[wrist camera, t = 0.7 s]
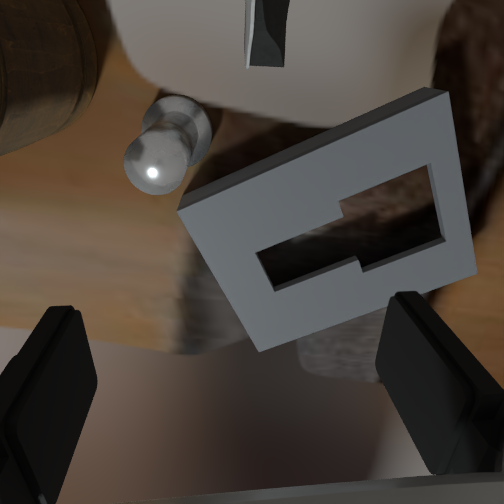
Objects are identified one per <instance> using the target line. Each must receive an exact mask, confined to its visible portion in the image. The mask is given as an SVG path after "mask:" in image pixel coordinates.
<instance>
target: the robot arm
mask: <svg viewBox="0 0 504 504" xmlns="http://www.w3.org/2000/svg"><path fill="white" fill-rule="evenodd" d="M375 365H376V370H377V373H378V375H379V376H380V378H381V380H382V382H383V384H384V386H385V388H386V390H387V392H388V394H389V396H390V398H391V399H392V401H393V403H394V405H395V407H396V409H397V411H398V413H399V415H400V417H401V419H402V420H403V423H404V424H405V426H406V428H407V430H408V432H409V434H410V436H411V438H412V440H413V442H414V444H415V445H416V447H417V449H418V451H419V453H420V455H421V457H422V459H423V461H424V463H425V465H426V467H427V468H428V470H429V472H430V473H431V474H433V475H431V476H417V477H404V478H392V479H381V480H368V481H356V482H344V483H332V484H320V485H309V486H298V487H286V488H275V489H263V490H253V491H241V492H231V493H220V494H208V495H197V496H187V497H176V498H166V499H156V500H145V501H134V502H124V503H113V504H504V390H503V389H502V387H501V386H500V385H499V384H498V383H497V382H496V381H495V379H494V378H493V377H492V376H491V375H490V374H489V373H488V371H487V370H486V369H485V368H484V367H483V366H482V365H481V363H480V362H479V361H478V360H477V359H476V358H475V357H474V355H473V354H472V353H471V352H470V351H469V350H468V349H467V347H466V346H465V345H464V344H463V343H462V342H461V341H460V339H459V338H458V337H457V336H456V335H455V334H454V333H453V331H452V330H451V329H450V328H449V327H448V326H447V325H446V323H445V322H444V321H443V320H442V319H441V318H440V317H439V315H438V314H437V313H436V312H435V311H434V310H433V309H432V307H431V306H430V305H429V304H428V303H427V302H426V300H425V299H424V298H423V297H422V296H421V295H420V294H419V293H418V292H417V291H398V292H396V293H395V295H394V296H392V297H390V299H389V303H388V307H387V311H386V316H385V320H384V325H383V329H382V333H381V338H380V342H379V347H378V351H377V355H376V360H375ZM96 389H97V374H96V370H95V367H94V363H93V359H92V355H91V351H90V347H89V343H88V339H87V335H86V331H85V327H84V323H83V319H82V315H81V312H80V311H79V310H74V308H73V306H71V305H69V306H51V307H49V308H48V309H47V310H46V312H45V313H44V315H43V316H42V318H41V319H40V321H39V322H38V324H37V325H36V327H35V329H34V330H33V332H32V333H31V335H30V336H29V338H28V339H27V341H26V342H25V344H24V345H23V347H22V348H21V350H20V351H19V353H18V354H17V355H15V356H14V357H13V358H12V359H11V360H10V361H9V363H8V364H7V366H6V367H5V369H4V371H3V372H2V373H1V375H0V504H55V503H56V502H57V499H58V496H59V493H60V491H61V488H62V485H63V482H64V479H65V476H66V474H67V471H68V468H69V465H70V462H71V459H72V457H73V454H74V451H75V448H76V445H77V442H78V440H79V437H80V434H81V431H82V428H83V426H84V423H85V420H86V417H87V414H88V412H89V408H90V406H91V403H92V400H93V397H94V395H95V392H96ZM434 474H436V475H434Z"/></svg>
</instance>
